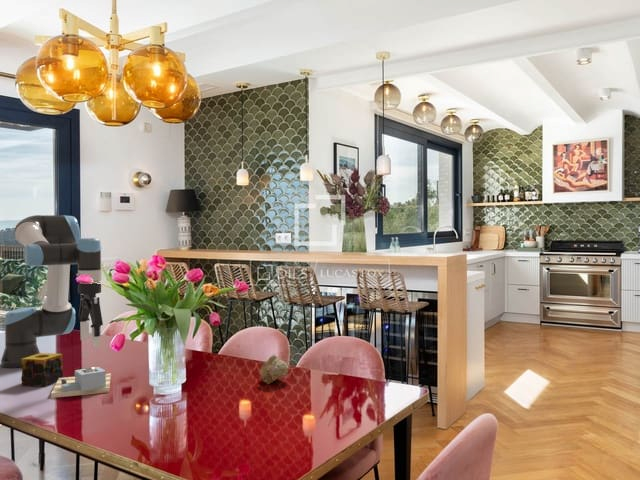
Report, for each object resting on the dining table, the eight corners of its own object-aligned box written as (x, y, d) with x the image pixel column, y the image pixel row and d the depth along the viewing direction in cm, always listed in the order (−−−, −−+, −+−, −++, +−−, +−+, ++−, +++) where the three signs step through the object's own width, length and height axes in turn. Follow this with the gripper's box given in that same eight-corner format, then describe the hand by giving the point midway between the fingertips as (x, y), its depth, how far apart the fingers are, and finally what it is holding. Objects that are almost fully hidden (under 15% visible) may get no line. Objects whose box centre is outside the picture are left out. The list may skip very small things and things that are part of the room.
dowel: (61, 388, 186) (61, 379, 186) (66, 387, 186) (66, 379, 186) (61, 389, 184) (61, 380, 184) (66, 388, 185) (66, 380, 185)
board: (58, 382, 199) (58, 378, 199) (110, 377, 205) (110, 373, 205) (51, 397, 180) (51, 393, 180) (108, 392, 186) (108, 387, 186)
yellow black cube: (44, 387, 193) (44, 359, 193) (20, 386, 195) (19, 358, 195) (63, 379, 203) (63, 353, 203) (40, 378, 205) (39, 352, 205)
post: (86, 385, 189) (86, 367, 189) (95, 384, 190) (95, 366, 190) (85, 387, 186) (85, 369, 186) (95, 387, 187) (94, 368, 187)
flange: (98, 381, 193) (98, 366, 193) (105, 386, 187) (105, 370, 187) (59, 388, 185) (59, 372, 185) (65, 394, 179) (65, 377, 179)
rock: (293, 382, 197) (292, 355, 196) (272, 388, 189) (271, 360, 189) (271, 376, 205) (270, 350, 205) (250, 382, 197) (249, 355, 197)
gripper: (68, 280, 195) (69, 338, 196) (88, 285, 176) (89, 350, 176) (90, 279, 200) (91, 335, 200) (112, 284, 180) (113, 346, 181)
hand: (90, 342), depth 188 cm, fingers open, 13 cm apart
